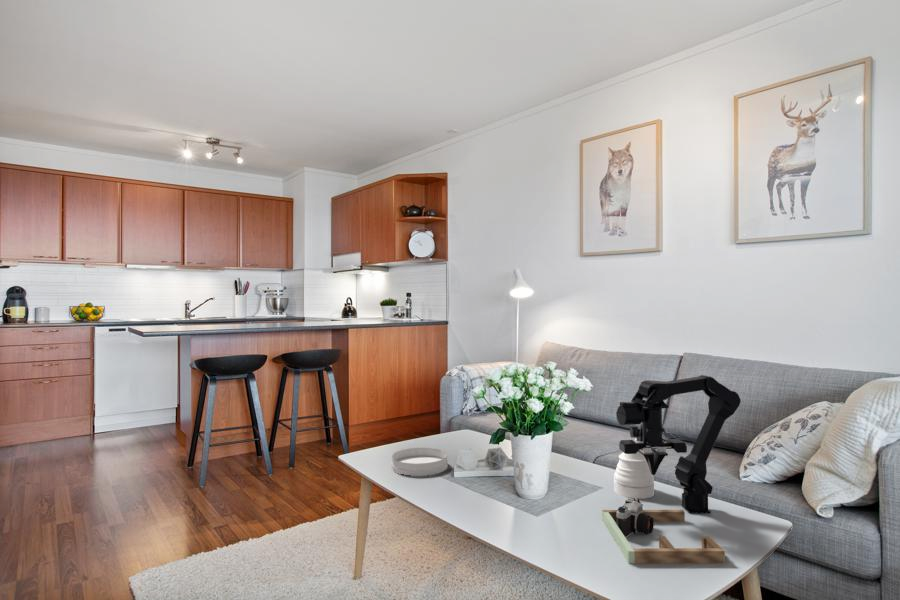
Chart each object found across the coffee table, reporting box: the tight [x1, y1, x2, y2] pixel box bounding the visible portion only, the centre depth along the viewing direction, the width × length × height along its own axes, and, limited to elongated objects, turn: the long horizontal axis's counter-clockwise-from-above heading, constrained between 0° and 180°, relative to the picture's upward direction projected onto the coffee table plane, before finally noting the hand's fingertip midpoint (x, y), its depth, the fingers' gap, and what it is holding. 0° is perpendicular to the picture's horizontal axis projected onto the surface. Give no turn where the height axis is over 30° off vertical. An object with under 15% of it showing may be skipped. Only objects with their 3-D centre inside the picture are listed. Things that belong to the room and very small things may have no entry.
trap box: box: [601, 509, 726, 564], centre depth 147 cm, size 24×26×3 cm
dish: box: [391, 447, 449, 477], centre depth 213 cm, size 22×22×5 cm
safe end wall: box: [601, 509, 636, 564], centre depth 147 cm, size 2×26×3 cm, turn 178°
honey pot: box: [613, 438, 655, 500], centre depth 183 cm, size 13×13×18 cm
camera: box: [616, 497, 655, 539], centre depth 152 cm, size 13×8×9 cm, turn 141°
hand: (653, 474), depth 164 cm, fingers closed
